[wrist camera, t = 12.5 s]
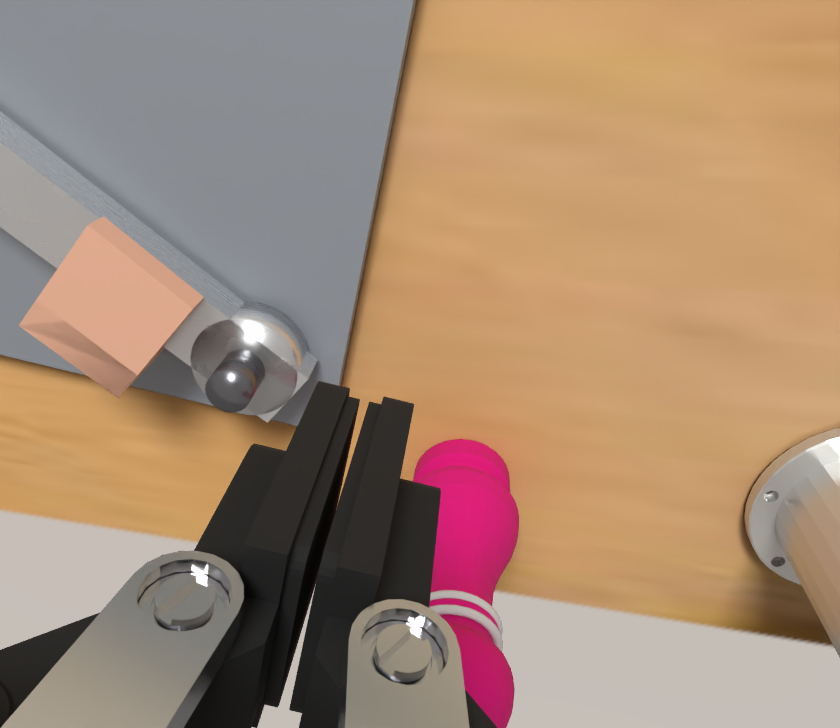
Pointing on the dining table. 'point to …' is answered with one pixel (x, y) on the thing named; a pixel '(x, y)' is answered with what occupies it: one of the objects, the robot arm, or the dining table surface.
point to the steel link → (219, 309)
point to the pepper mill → (473, 562)
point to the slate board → (215, 148)
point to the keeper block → (110, 307)
